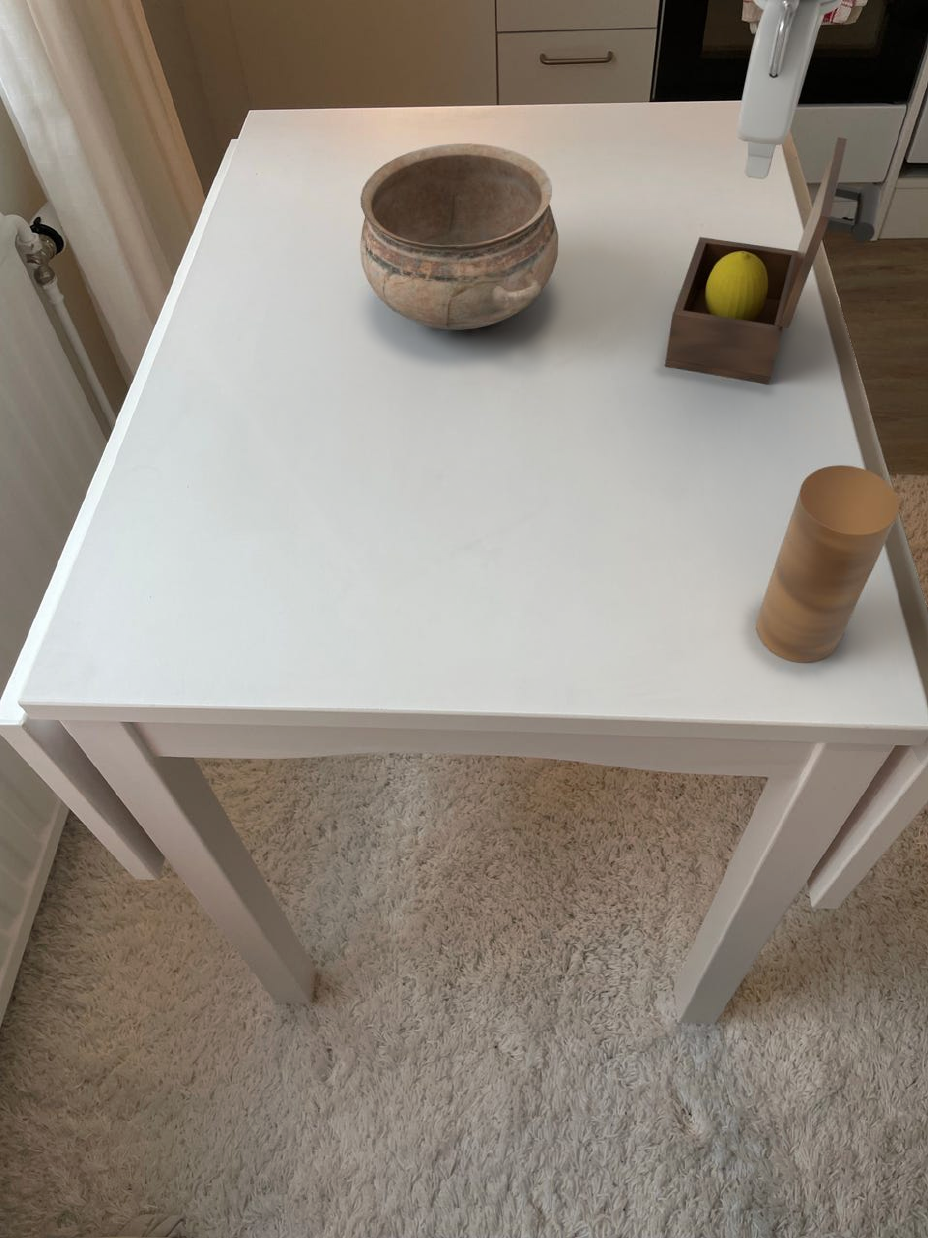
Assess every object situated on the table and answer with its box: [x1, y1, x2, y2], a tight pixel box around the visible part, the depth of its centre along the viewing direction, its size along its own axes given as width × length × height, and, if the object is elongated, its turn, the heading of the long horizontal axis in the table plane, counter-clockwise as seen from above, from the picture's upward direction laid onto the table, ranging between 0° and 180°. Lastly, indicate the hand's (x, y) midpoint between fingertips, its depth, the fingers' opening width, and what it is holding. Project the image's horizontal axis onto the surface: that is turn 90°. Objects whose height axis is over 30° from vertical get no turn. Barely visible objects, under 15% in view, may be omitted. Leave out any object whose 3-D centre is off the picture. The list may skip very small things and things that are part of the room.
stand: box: [755, 464, 900, 664], centre depth 65 cm, size 6×6×14 cm
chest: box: [664, 236, 798, 385], centre depth 90 cm, size 10×13×6 cm
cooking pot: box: [359, 143, 559, 331], centre depth 92 cm, size 25×19×12 cm
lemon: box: [705, 251, 768, 321], centre depth 88 cm, size 6×6×8 cm
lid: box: [779, 136, 882, 329], centre depth 81 cm, size 10×13×5 cm
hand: (766, 143), depth 77 cm, fingers open, 8 cm apart
